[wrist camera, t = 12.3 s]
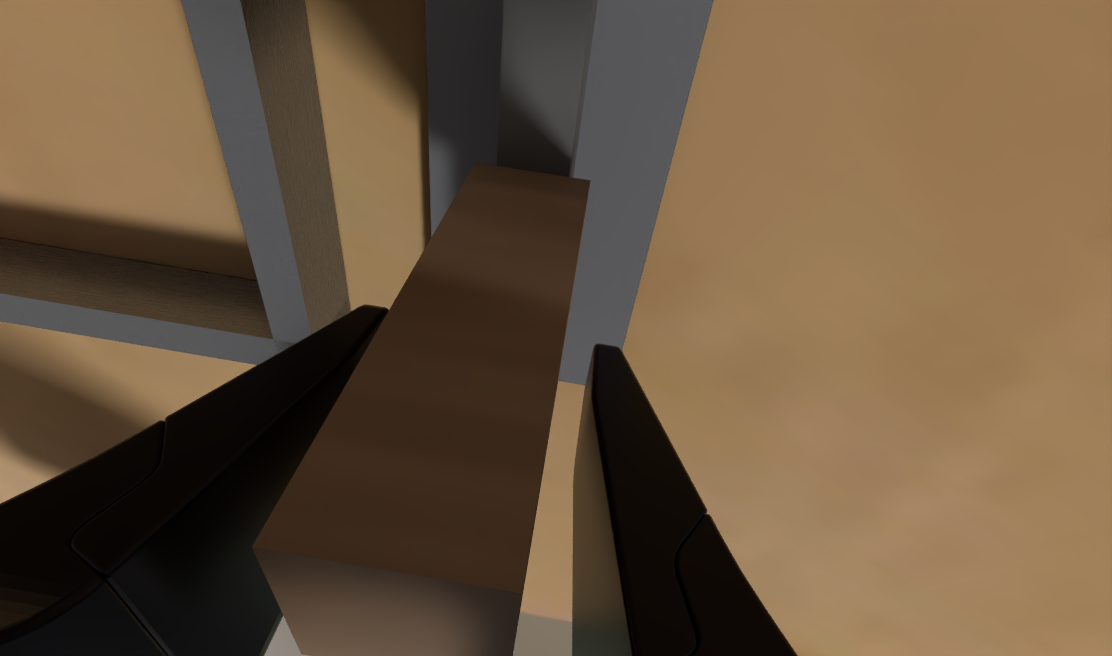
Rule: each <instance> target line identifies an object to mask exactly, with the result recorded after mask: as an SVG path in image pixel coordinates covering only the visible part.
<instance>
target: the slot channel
mask: <svg viewBox="0 0 1112 656" xmlns="http://www.w3.org/2000/svg"><path fill="white" fill-rule="evenodd" d="M181 1H182V5H183V8H184V12H185V16H186V19H187V23H188V27H189V31H190V34H191V38H192V42H193V45H194V49H195V53H196V56H197V60H198V64H199V67H200V71H201V75H202V78H203V82H204V86H205V89H206V93H207V97H208V100H209V104H210V108H211V111H212V115H213V119H214V122H215V126H216V130H217V133H218V137H219V141H220V145H221V148H222V152H223V156H224V159H225V163H226V167H227V170H228V174H229V178H230V181H231V185H232V189H233V192H234V196H235V200H236V203H237V207H238V211H239V214H240V218H241V222H242V225H243V229H244V233H245V236H246V240H247V244H248V248H249V251H250V255H251V259H252V262H253V266H254V270H255V273H256V277H257V281H253V280H247V279H241V278H235V277H229V276H223V275H217V274H211V273H205V272H199V271H193V270H187V269H181V268H175V267H169V266H163V265H157V264H151V263H145V262H139V261H133V260H128V259H122V258H116V257H110V256H104V255H98V254H92V253H86V252H80V251H74V250H68V249H62V248H56V247H50V246H44V245H38V244H32V243H26V242H20V241H14V240H8V239H2V238H0V321H2V322H7V323H13V324H19V325H25V326H31V327H37V328H43V329H49V330H55V331H60V332H66V333H72V334H78V335H84V336H90V337H96V338H102V339H108V340H113V341H119V342H125V343H131V344H137V345H143V346H149V347H155V348H161V349H166V350H172V351H178V352H184V353H190V354H196V355H202V356H208V357H214V358H219V359H225V360H231V361H237V362H243V363H249V364H255V365H258V364H260V363H262V362H264V361H265V360H267V359H269V358H271V357H272V356H274V355H276V354H278V353H279V352H281V351H283V350H285V349H286V348H288V347H290V346H292V345H293V344H295V343H297V342H299V341H300V340H302V339H304V338H306V337H307V336H309V335H311V334H313V333H314V332H316V331H318V330H320V329H321V328H323V327H325V326H327V325H328V324H330V323H332V322H334V321H335V320H337V319H339V318H341V317H342V316H344V315H346V314H348V313H349V312H351V310H350V303H349V296H348V289H347V283H346V276H345V269H344V262H343V256H342V249H341V242H340V236H339V229H338V222H337V215H336V209H335V202H334V195H333V188H332V182H331V175H330V168H329V161H328V155H327V148H326V141H325V134H324V128H323V121H322V114H321V107H320V101H319V94H318V87H317V80H316V74H315V67H314V60H313V53H312V47H311V40H310V33H309V26H308V20H307V13H306V6H305V0H181Z"/></svg>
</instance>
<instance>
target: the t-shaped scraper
mask: <svg viewBox="0 0 1112 656" xmlns="http://www.w3.org/2000/svg"><path fill="white" fill-rule="evenodd" d="M597 2H598V0H504V9H503V32H502V54H501V77H500V100H499V123H498V146H497V166H495V165H489V164H482V163H476V162H475V163H474V165H473V167H472V168H471V170H470V172H469V174H468V175H467V177H466V179H465V181H464V182H463V184H462V186H461V187H460V189H459V191H458V193H457V194H456V196H455V198H454V199H453V201H452V203H451V205H450V206H449V208H448V210H447V212H446V213H445V215H444V217H443V218H442V220H441V222H440V224H439V225H438V227H437V229H436V230H435V232H434V234H433V236H432V237H431V239H430V241H429V243H428V244H427V246H426V248H425V249H424V251H423V253H422V255H421V256H420V258H419V260H418V261H417V263H416V265H415V267H414V268H413V270H412V272H411V274H410V275H409V277H408V279H407V280H406V282H405V284H404V286H403V287H402V289H401V291H400V292H399V294H398V296H397V298H396V299H395V301H394V303H393V305H392V306H391V308H390V310H389V311H388V313H387V315H386V317H385V318H384V320H383V322H382V323H381V325H380V327H379V329H378V330H377V332H376V334H375V336H374V337H373V339H372V341H371V342H370V344H369V346H368V348H367V349H366V351H365V353H364V354H363V356H362V358H361V360H360V361H359V363H358V365H357V367H356V368H355V370H354V372H353V373H352V375H351V377H350V379H349V380H348V382H347V384H346V385H345V387H344V389H343V391H342V392H341V394H340V396H339V398H338V399H337V401H336V403H335V404H334V406H333V408H332V410H331V411H330V413H329V415H328V416H327V418H326V420H325V422H324V423H323V425H322V427H321V429H320V430H319V432H318V434H317V435H316V437H315V439H314V441H313V442H312V444H311V446H310V447H309V449H308V451H307V453H306V454H305V456H304V458H303V460H302V461H301V463H300V465H299V466H298V468H297V470H296V472H295V473H294V475H293V477H292V478H291V480H290V482H289V484H288V485H287V487H286V489H285V491H284V492H283V494H282V496H281V497H280V499H279V501H278V503H277V504H276V506H275V508H274V509H273V511H272V513H271V515H270V516H269V518H268V520H267V522H266V523H265V525H264V527H263V528H262V530H261V532H260V534H259V535H258V537H257V539H256V540H255V542H254V544H253V546H252V549H253V551H254V553H255V555H256V557H257V559H258V562H259V564H260V566H261V568H262V570H263V572H264V575H265V577H266V579H267V581H268V583H269V585H270V587H271V590H272V592H273V594H274V596H275V598H276V600H277V602H278V605H279V607H280V609H281V611H282V613H283V615H284V618H285V619H286V622H287V624H288V626H289V628H290V630H291V633H292V635H293V637H294V639H295V641H296V643H297V645H298V648H299V650H300V652H301V654H305V655H310V656H513V650H514V643H515V638H516V632H517V626H518V620H519V614H520V608H521V602H522V596H523V590H524V583H525V577H526V571H527V565H528V559H529V553H530V547H531V541H532V535H533V529H534V523H535V517H536V511H537V505H538V499H539V493H540V487H541V481H542V475H543V469H544V463H545V456H546V450H547V444H548V438H549V432H550V426H551V420H552V414H553V408H554V402H555V396H556V390H557V384H558V378H559V372H560V366H561V360H562V354H563V348H564V342H565V336H566V330H567V323H568V317H569V311H570V305H571V299H572V293H573V287H574V281H575V275H576V269H577V262H578V256H579V250H580V244H581V237H582V231H583V225H584V219H585V212H586V206H587V200H588V194H589V187H590V181H591V180H585V179H579V178H573V176H574V169H575V162H576V154H577V147H578V140H579V133H580V125H581V118H582V111H583V104H584V96H585V89H586V82H587V74H588V67H589V60H590V53H591V45H592V38H593V31H594V24H595V16H596V9H597Z"/></svg>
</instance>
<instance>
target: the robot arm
mask: <svg viewBox="0 0 1112 656" xmlns="http://www.w3.org/2000/svg"><path fill="white" fill-rule="evenodd" d="M388 311H389V310H388V309H387V308H385V307H379V306H373V305H362V306H360V307H358V308H356V309H355V310H353V311H351V312H349V313H348V314H346V315H344V316H342V317H341V318H339V319H337V320H335V321H334V322H332V323H330V324H328V325H327V326H325V327H323V328H321V329H320V330H318V331H316V332H314V333H313V334H311V335H309V336H307V337H306V338H304V339H302V340H300V341H299V342H297V343H295V344H293V345H292V346H290V347H288V348H286V349H285V350H283V351H281V352H279V353H278V354H276V355H274V356H272V357H271V358H269V359H267V360H265V361H264V362H262V363H260V364H258V365H257V366H255V367H253V368H251V369H250V370H248V371H246V372H244V373H243V374H241V375H239V376H237V377H236V378H234V379H232V380H230V381H229V382H227V383H225V384H223V385H222V386H220V387H218V388H216V389H215V390H213V391H211V392H209V393H208V394H206V395H204V396H202V397H201V398H199V399H197V400H195V401H194V402H192V403H190V404H188V405H187V406H185V407H183V408H181V409H180V410H178V411H176V412H174V413H173V414H171V415H169V416H167V417H166V419H165V422H164V421H158V422H156V423H155V424H153V425H151V426H149V427H148V428H146V429H144V430H142V431H141V432H139V433H137V434H135V435H134V436H132V437H130V438H128V439H126V440H124V441H123V442H121V443H119V444H117V445H115V446H114V447H112V448H110V449H108V450H106V451H104V452H103V453H101V454H99V455H97V456H95V457H93V458H92V459H90V460H88V461H86V462H84V463H82V464H80V465H78V466H76V467H74V468H72V469H70V470H68V471H66V472H64V473H62V474H60V475H58V476H56V477H54V478H52V479H50V480H48V481H46V482H44V483H42V484H40V485H38V486H36V487H34V488H32V489H30V490H28V491H26V492H23V493H21V494H19V495H17V496H15V497H13V498H11V499H9V500H7V501H5V502H3V503H1V504H0V656H264V655H265V653H266V651H267V649H268V646H269V644H270V642H271V640H272V638H273V636H274V634H275V632H276V630H277V628H278V626H279V624H280V622H281V619H282V617H283V613H282V611H281V609H280V607H279V605H278V602H277V600H276V598H275V596H274V594H273V592H272V590H271V587H270V585H269V583H268V581H267V579H266V577H265V575H264V572H263V570H262V568H261V566H260V564H259V562H258V559H257V557H256V555H255V553H254V551H253V549H252V546H253V544H254V542H255V540H256V539H257V537H258V535H259V534H260V532H261V530H262V528H263V527H264V525H265V523H266V522H267V520H268V518H269V516H270V515H271V513H272V511H273V509H274V508H275V506H276V504H277V503H278V501H279V499H280V497H281V496H282V494H283V492H284V491H285V489H286V487H287V485H288V484H289V482H290V480H291V478H292V477H293V475H294V473H295V472H296V470H297V468H298V466H299V465H300V463H301V461H302V460H303V458H304V456H305V454H306V453H307V451H308V449H309V447H310V446H311V444H312V442H313V441H314V439H315V437H316V435H317V434H318V432H319V430H320V429H321V427H322V425H323V423H324V422H325V420H326V418H327V416H328V415H329V413H330V411H331V410H332V408H333V406H334V404H335V403H336V401H337V399H338V398H339V396H340V394H341V392H342V391H343V389H344V387H345V385H346V384H347V382H348V380H349V379H350V377H351V375H352V373H353V372H354V370H355V368H356V367H357V365H358V363H359V361H360V360H361V358H362V356H363V354H364V353H365V351H366V349H367V348H368V346H369V344H370V342H371V341H372V339H373V337H374V336H375V334H376V332H377V330H378V329H379V327H380V325H381V323H382V322H383V320H384V318H385V317H386V315H387V313H388ZM572 656H797V654H796V653H795V651H794V650H793V648H792V647H791V645H790V644H789V642H788V641H787V639H786V638H785V636H784V635H783V633H782V632H781V630H780V629H779V628H778V626H777V625H776V623H775V622H774V620H773V619H772V617H771V616H770V614H769V613H768V611H767V610H766V608H765V607H764V605H763V604H762V602H761V601H760V599H759V598H758V596H757V594H756V593H755V591H754V590H753V588H752V587H751V585H750V584H749V582H748V581H747V579H746V577H745V576H744V574H743V573H742V571H741V570H740V568H739V566H738V564H737V563H736V561H735V559H734V557H733V556H732V554H731V552H730V550H729V549H728V547H727V545H726V543H725V542H724V540H723V538H722V536H721V534H720V533H719V531H718V529H717V527H716V525H715V523H714V521H713V519H712V517H711V516H710V515H709V514H707V509H706V507H705V505H704V503H703V501H702V499H701V497H700V496H699V494H698V492H697V490H696V488H695V486H694V484H693V483H692V481H691V479H690V477H689V475H688V473H687V471H686V469H685V468H684V466H683V464H682V462H681V460H680V458H679V456H678V455H677V453H676V451H675V449H674V447H673V445H672V443H671V442H670V440H669V438H668V436H667V434H666V432H665V430H664V429H663V427H662V425H661V423H660V421H659V419H658V417H657V416H656V414H655V412H654V410H653V408H652V406H651V404H650V402H649V401H648V399H647V397H646V395H645V393H644V391H643V389H642V388H641V386H640V384H639V382H638V380H637V378H636V376H635V375H634V373H633V371H632V369H631V367H630V365H629V363H628V362H627V360H626V358H625V356H624V354H623V352H622V350H621V349H620V348H619V347H617V346H612V345H606V344H600V343H597V344H595V346H594V348H593V352H592V356H591V361H590V365H589V370H588V375H587V379H586V385H585V391H584V398H583V405H582V413H581V420H580V427H579V435H578V442H577V449H576V457H575V466H574V480H573V607H572Z"/></svg>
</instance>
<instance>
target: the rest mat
mask: <svg viewBox="0 0 1112 656" xmlns="http://www.w3.org/2000/svg"><path fill="white" fill-rule="evenodd" d="M713 1H714V0H598V2H597V9H596V16H595V24H594V31H593V38H592V45H591V53H590V60H589V67H588V74H587V82H586V89H585V96H584V104H583V111H582V118H581V125H580V133H579V140H578V147H577V154H576V162H575V169H574V176H573V178H579V179H585V180H591V181H590V187H589V194H588V200H587V206H586V212H585V219H584V225H583V231H582V237H581V244H580V250H579V256H578V262H577V269H576V275H575V281H574V287H573V293H572V299H571V305H570V311H569V317H568V323H567V330H566V336H565V342H564V348H563V354H562V360H561V366H560V372H559V378H558V381H563V382H569V383H575V384H581V385H586V379H587V375H588V370H589V365H590V361H591V356H592V352H593V348H594V346H595V344H597V343H600V344H606V345H612V346H617V347H619V348H620V349H621V350H622V348H623V345H624V341H625V337H626V333H627V329H628V326H629V322H630V318H631V314H632V310H633V306H634V303H635V299H636V295H637V291H638V287H639V283H640V280H641V276H642V272H643V268H644V264H645V261H646V257H647V253H648V249H649V245H650V241H651V238H652V234H653V230H654V226H655V222H656V218H657V215H658V211H659V207H660V203H661V199H662V196H663V192H664V188H665V184H666V180H667V176H668V173H669V169H670V165H671V161H672V157H673V153H674V150H675V146H676V142H677V138H678V134H679V131H680V127H681V123H682V119H683V115H684V111H685V108H686V104H687V100H688V96H689V92H690V88H691V85H692V81H693V77H694V73H695V69H696V66H697V62H698V58H699V54H700V50H701V46H702V43H703V39H704V35H705V31H706V27H707V24H708V20H709V16H710V12H711V8H712V4H713ZM503 9H504V0H425V27H426V63H427V99H428V135H429V170H430V206H431V237H432V236H433V234H434V232H435V230H436V229H437V227H438V225H439V224H440V222H441V220H442V218H443V217H444V215H445V213H446V212H447V210H448V208H449V206H450V205H451V203H452V201H453V199H454V198H455V196H456V194H457V193H458V191H459V189H460V187H461V186H462V184H463V182H464V181H465V179H466V177H467V175H468V174H469V172H470V170H471V168H472V167H473V165H474V163H475V162H476V163H482V164H489V165H495V166H497V146H498V123H499V100H500V77H501V54H502V32H503Z"/></svg>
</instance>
